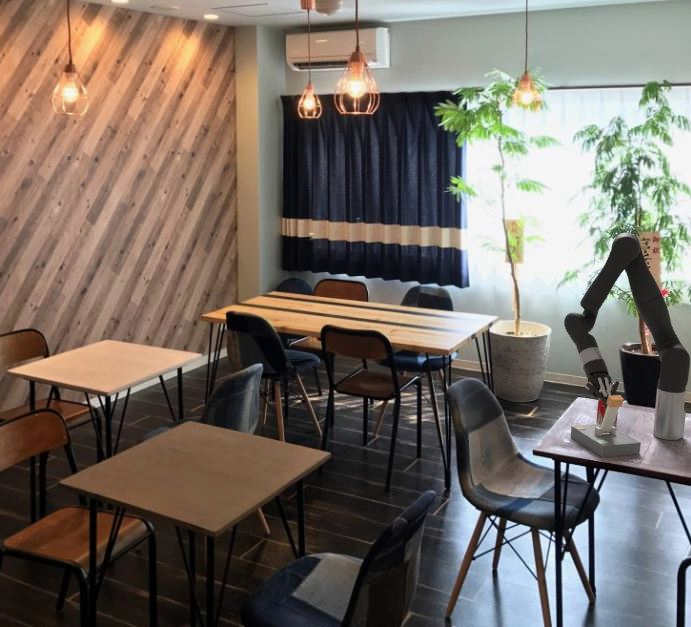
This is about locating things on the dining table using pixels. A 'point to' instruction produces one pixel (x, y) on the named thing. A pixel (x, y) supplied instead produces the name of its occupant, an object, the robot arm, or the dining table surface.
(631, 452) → the switch panel
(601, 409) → the soda can
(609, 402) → the lever
